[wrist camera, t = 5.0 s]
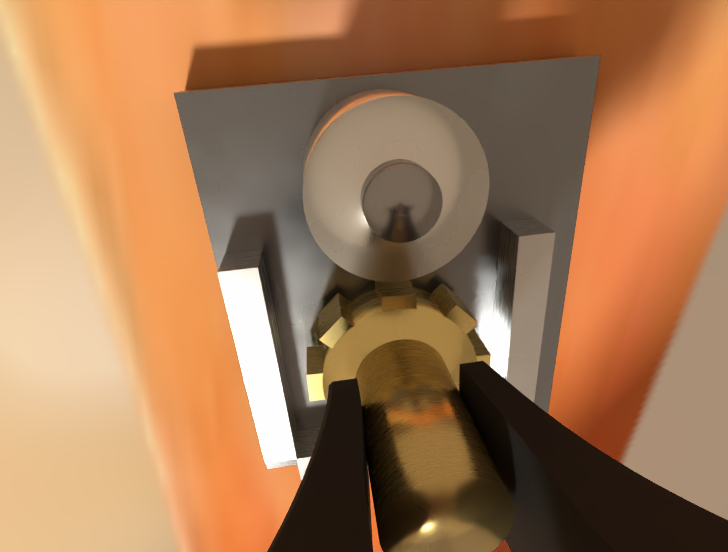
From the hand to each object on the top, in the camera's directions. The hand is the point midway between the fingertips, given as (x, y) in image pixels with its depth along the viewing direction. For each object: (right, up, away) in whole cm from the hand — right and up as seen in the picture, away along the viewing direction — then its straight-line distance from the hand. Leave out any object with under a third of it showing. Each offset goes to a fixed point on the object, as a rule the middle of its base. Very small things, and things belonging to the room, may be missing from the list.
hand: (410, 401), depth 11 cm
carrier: (0, +3, +3) cm, 4 cm away
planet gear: (0, +1, +2) cm, 3 cm away
